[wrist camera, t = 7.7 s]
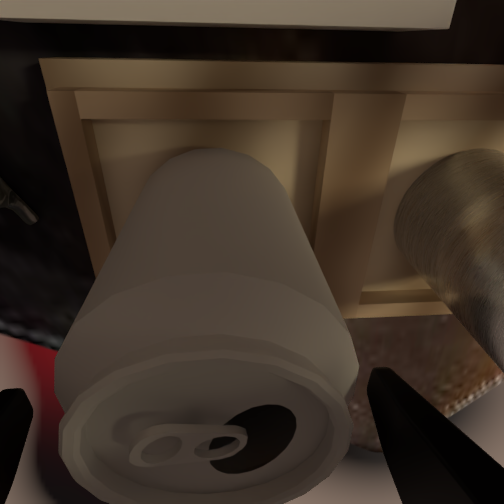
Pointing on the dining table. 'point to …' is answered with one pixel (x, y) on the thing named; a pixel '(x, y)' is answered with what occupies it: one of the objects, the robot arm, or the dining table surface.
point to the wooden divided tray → (281, 147)
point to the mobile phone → (16, 204)
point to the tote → (240, 13)
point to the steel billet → (460, 240)
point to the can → (207, 348)
